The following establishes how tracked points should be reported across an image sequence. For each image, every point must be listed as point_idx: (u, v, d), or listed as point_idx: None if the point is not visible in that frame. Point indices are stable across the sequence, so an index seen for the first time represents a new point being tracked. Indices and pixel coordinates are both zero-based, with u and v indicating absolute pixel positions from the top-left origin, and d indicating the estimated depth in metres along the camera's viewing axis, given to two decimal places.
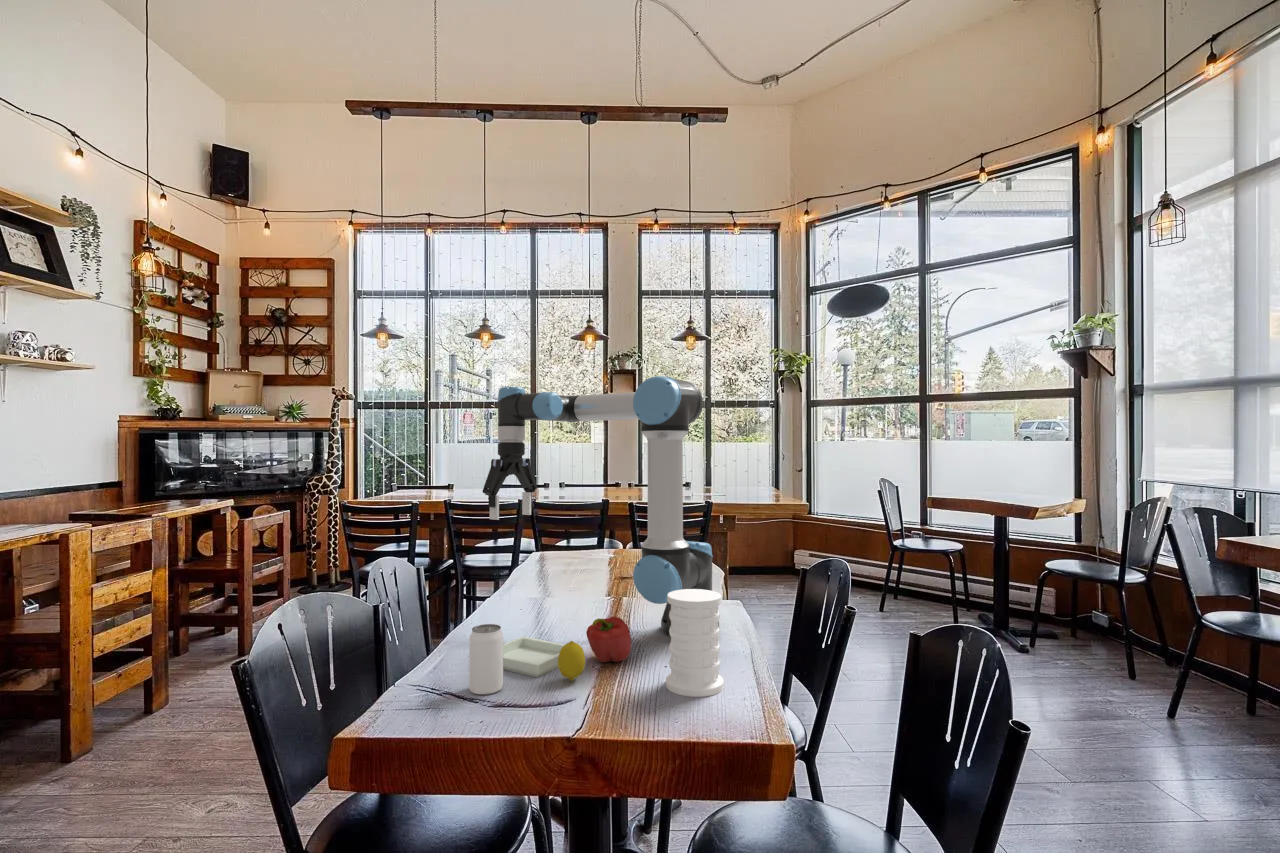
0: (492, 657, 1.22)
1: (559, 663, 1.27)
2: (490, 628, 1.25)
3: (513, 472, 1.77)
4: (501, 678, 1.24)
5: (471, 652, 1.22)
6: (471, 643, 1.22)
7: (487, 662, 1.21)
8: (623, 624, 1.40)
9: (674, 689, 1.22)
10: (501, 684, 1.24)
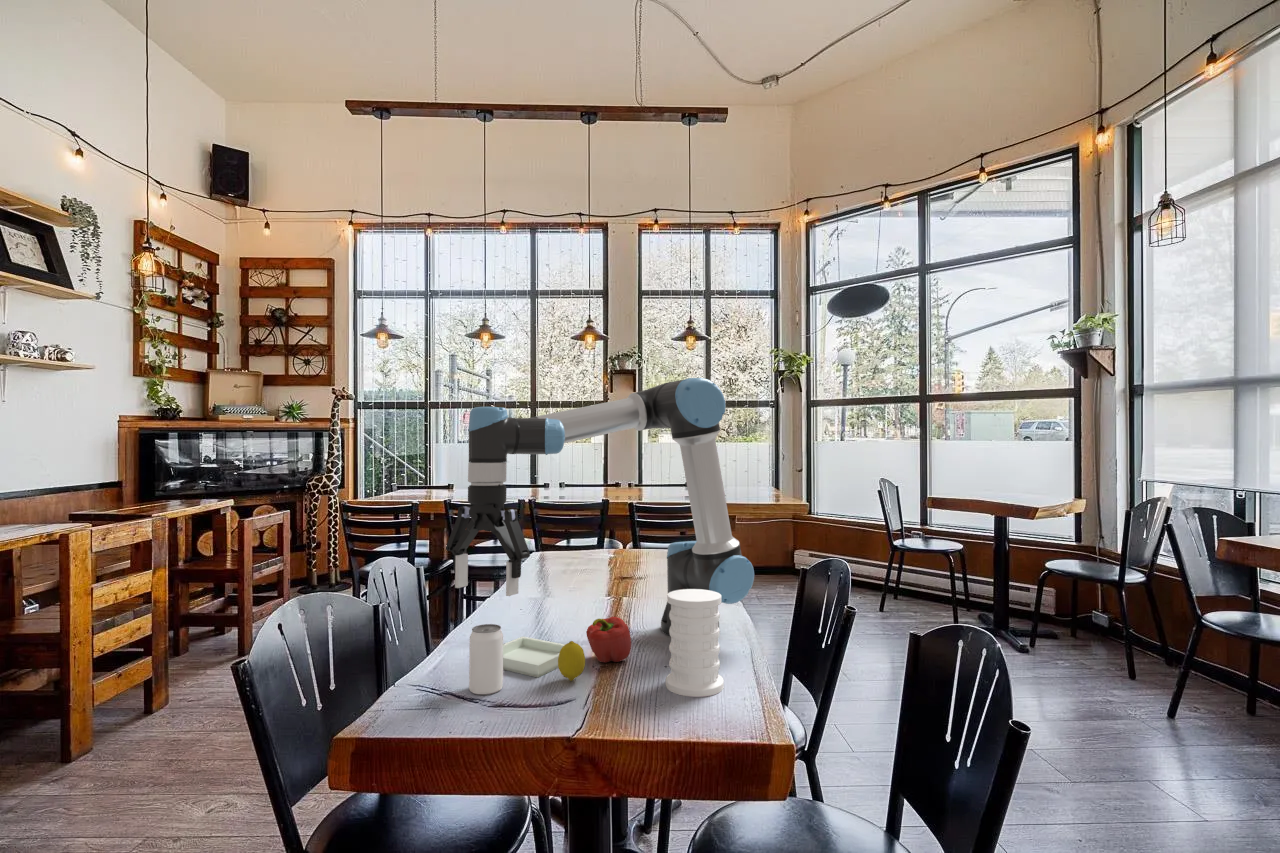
0: (492, 657, 1.22)
1: (559, 663, 1.27)
2: (490, 628, 1.25)
3: (482, 527, 1.25)
4: (501, 678, 1.24)
5: (471, 652, 1.22)
6: (471, 643, 1.22)
7: (487, 662, 1.21)
8: (623, 624, 1.40)
9: (674, 689, 1.22)
10: (501, 684, 1.24)
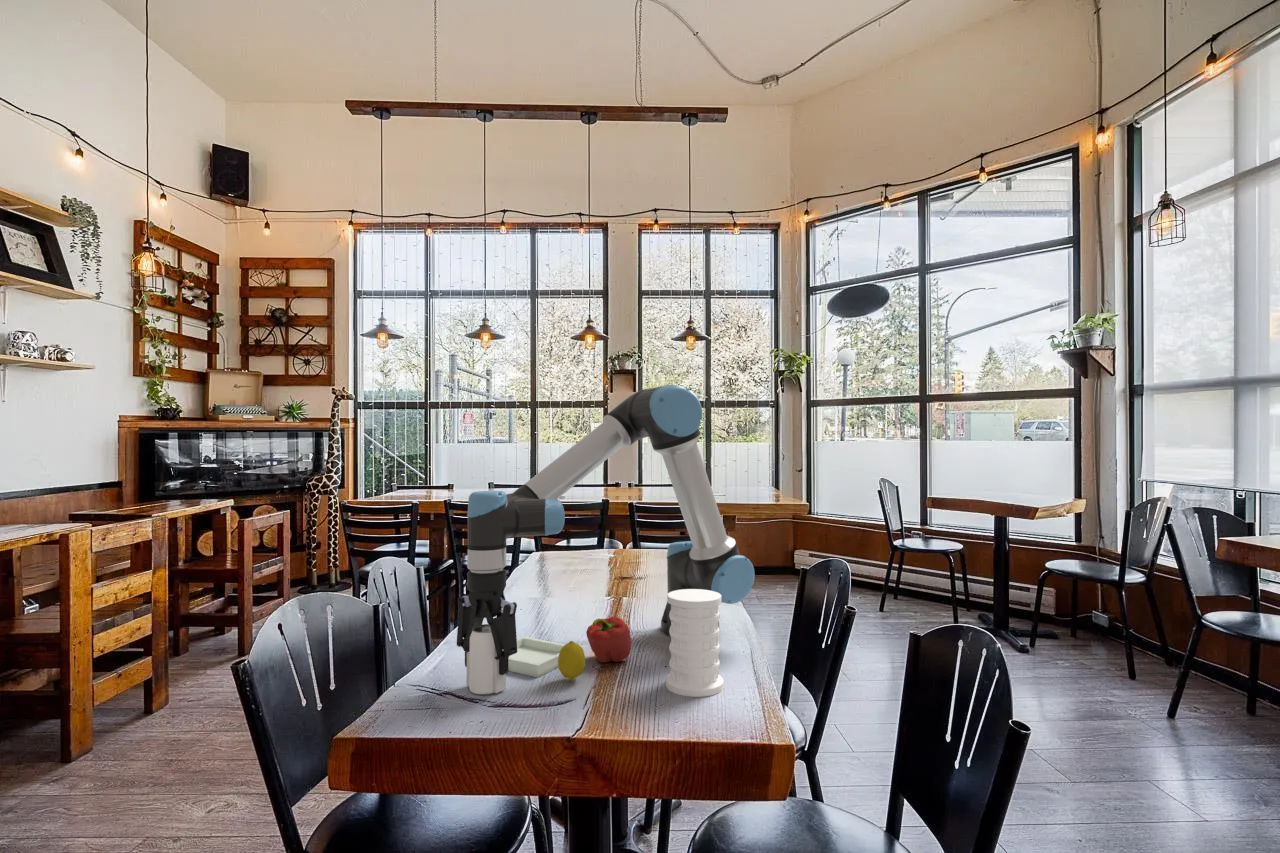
0: (492, 657, 1.22)
1: (559, 663, 1.27)
2: (490, 628, 1.25)
3: (481, 614, 1.24)
4: None
5: (471, 652, 1.22)
6: (471, 643, 1.22)
7: (487, 662, 1.21)
8: (623, 624, 1.40)
9: (674, 689, 1.22)
10: None
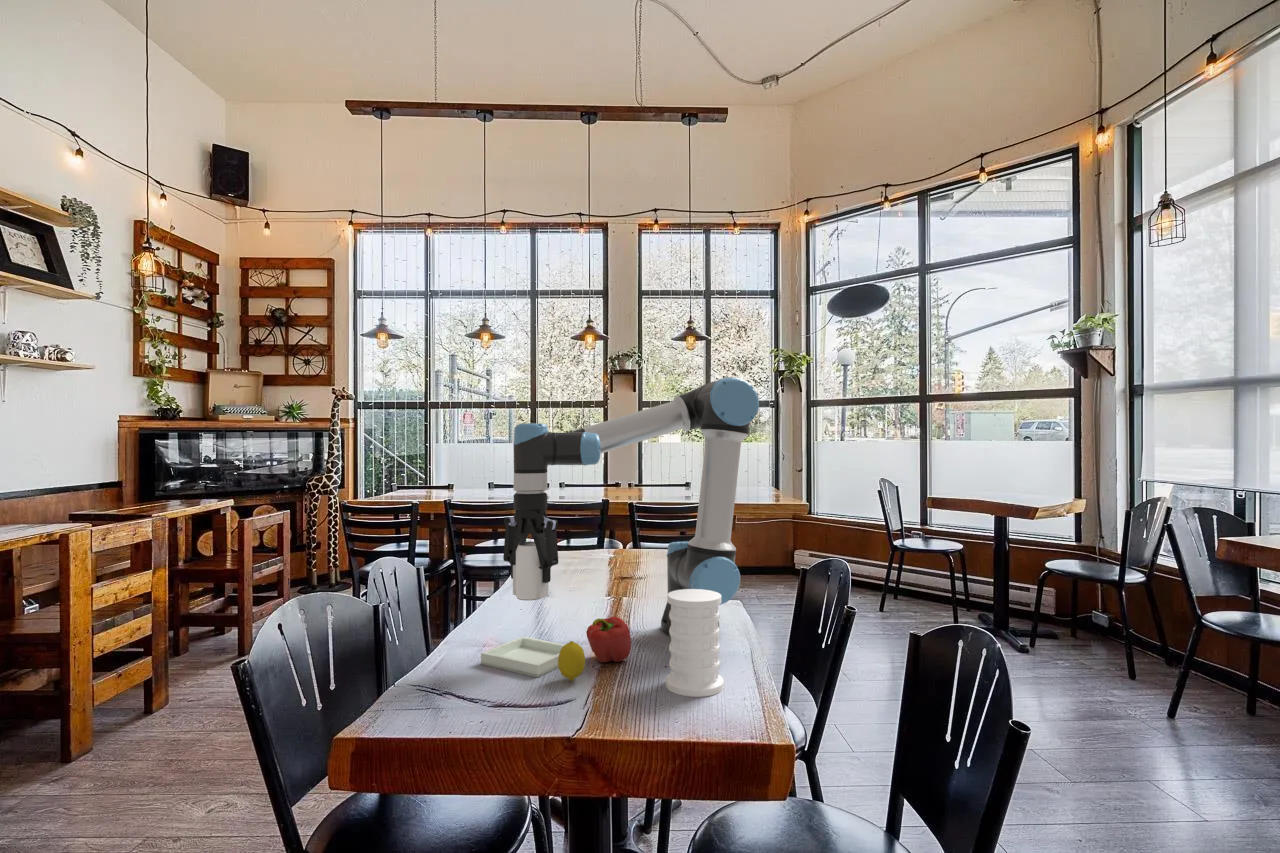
0: (536, 568, 1.39)
1: (559, 663, 1.27)
2: (533, 544, 1.42)
3: (526, 531, 1.41)
4: None
5: (517, 563, 1.39)
6: (518, 555, 1.39)
7: (532, 571, 1.38)
8: (623, 624, 1.40)
9: (674, 689, 1.22)
10: None
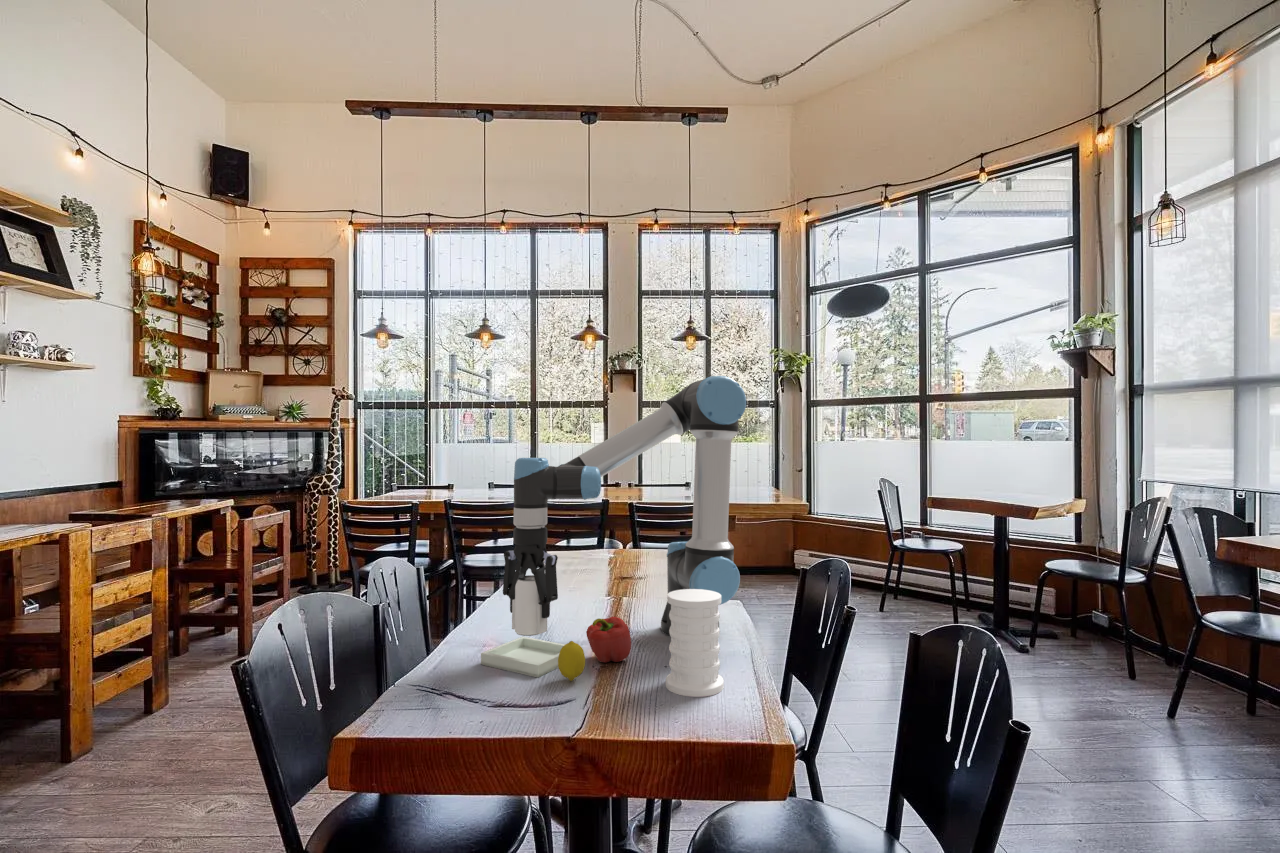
0: (536, 603, 1.38)
1: (559, 663, 1.27)
2: (533, 578, 1.42)
3: (526, 565, 1.40)
4: None
5: (517, 598, 1.39)
6: (517, 590, 1.39)
7: (531, 606, 1.38)
8: (623, 624, 1.40)
9: (674, 689, 1.22)
10: None
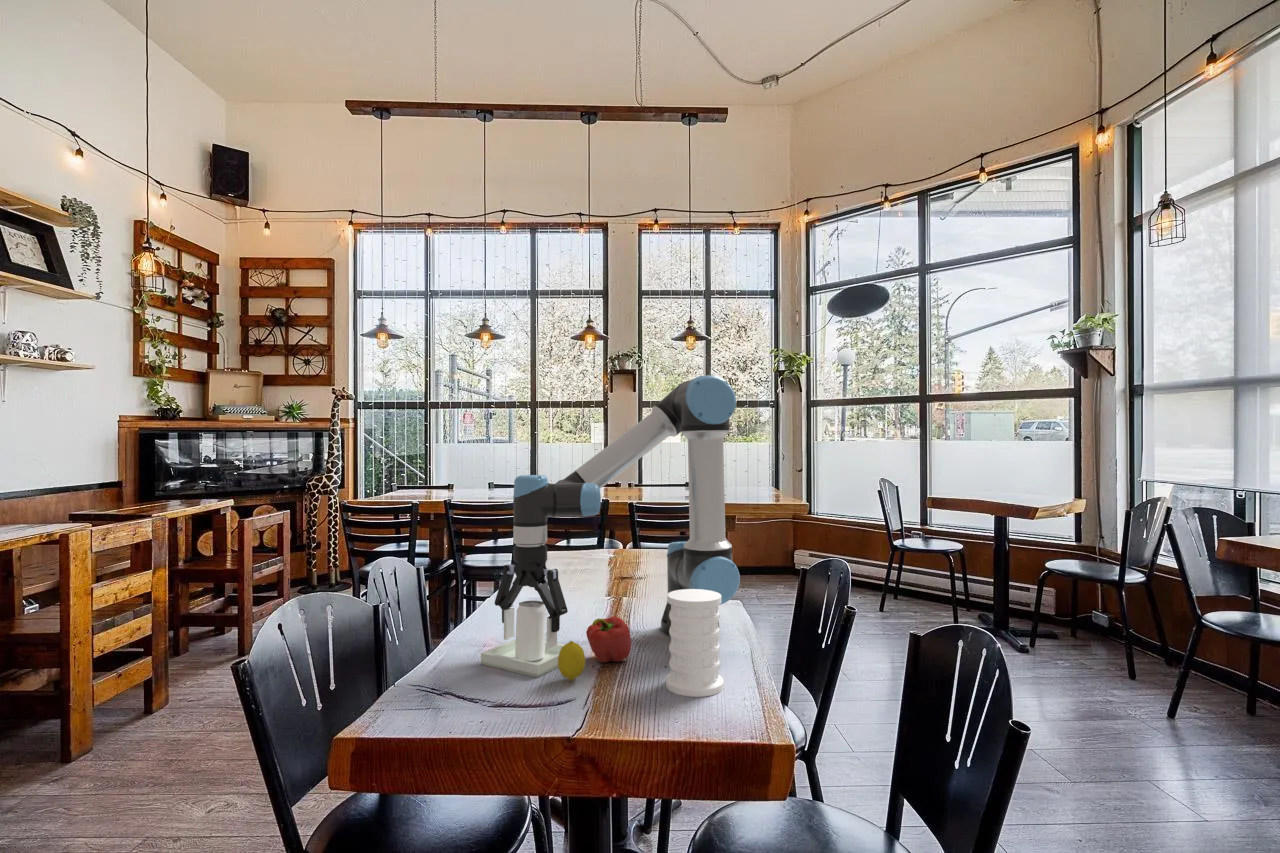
0: (537, 628, 1.39)
1: (559, 663, 1.27)
2: (534, 603, 1.42)
3: (526, 583, 1.40)
4: (544, 648, 1.40)
5: (518, 623, 1.39)
6: (518, 616, 1.39)
7: (533, 632, 1.38)
8: (623, 624, 1.40)
9: (674, 689, 1.22)
10: (543, 653, 1.40)
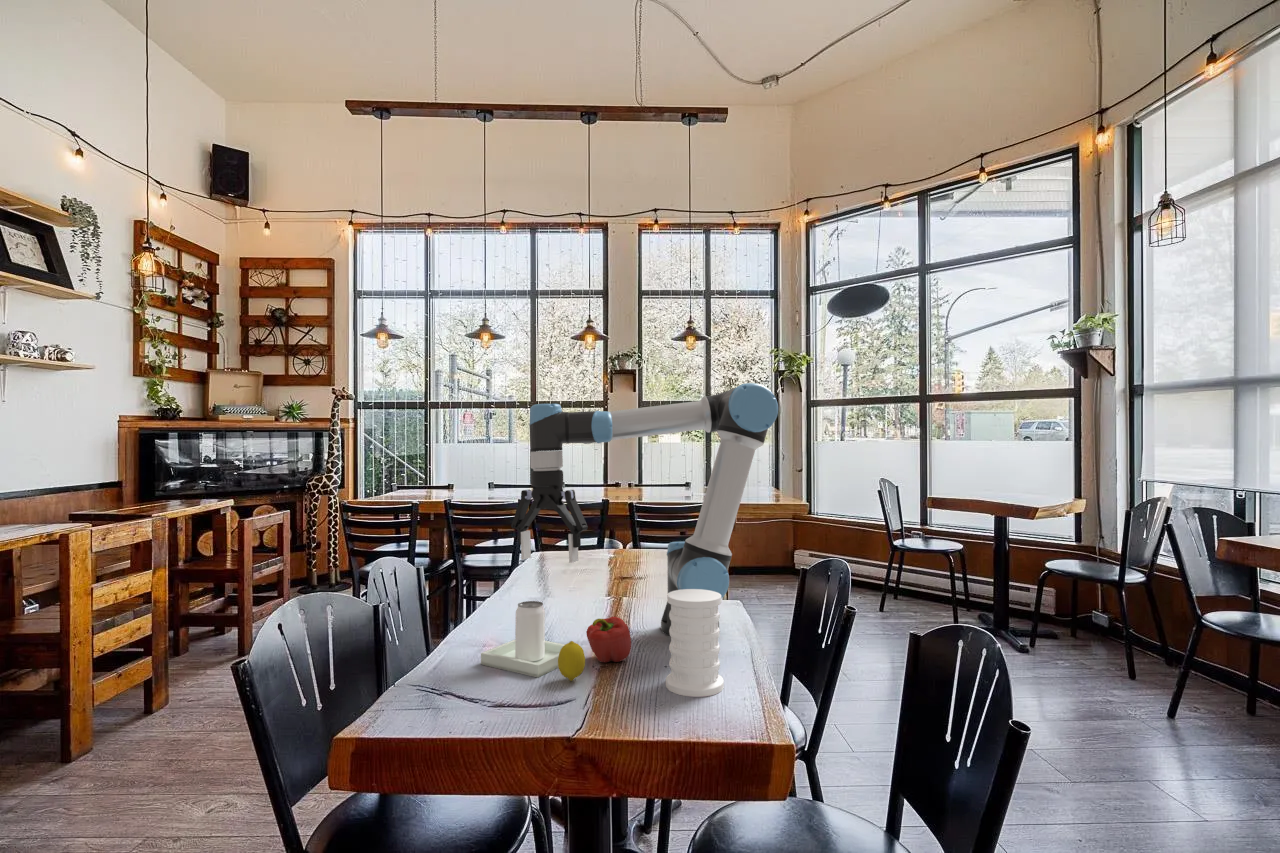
0: (537, 629, 1.38)
1: (559, 663, 1.27)
2: (533, 604, 1.42)
3: (544, 506, 1.47)
4: (543, 648, 1.40)
5: (517, 625, 1.39)
6: (518, 617, 1.39)
7: (532, 633, 1.38)
8: (623, 624, 1.40)
9: (674, 689, 1.22)
10: (543, 653, 1.40)
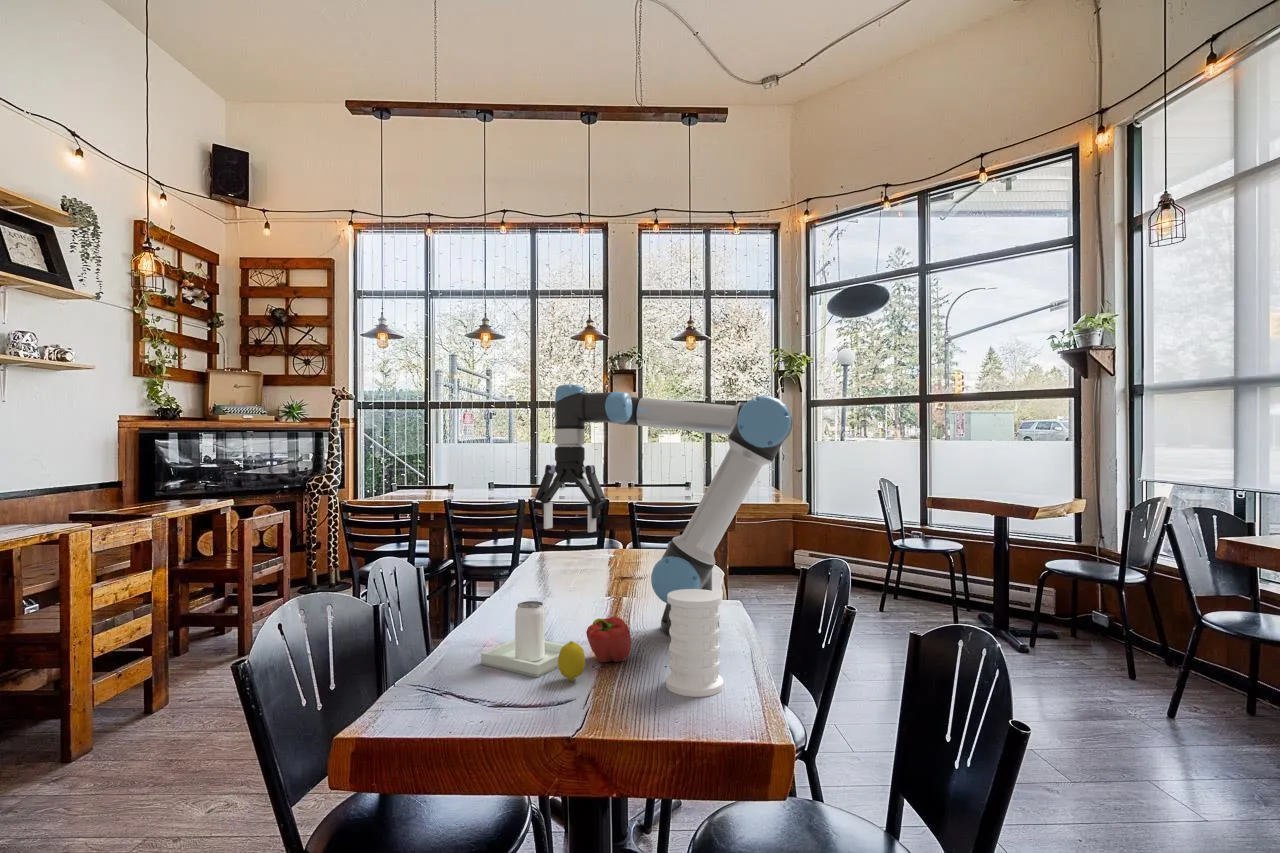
0: (537, 629, 1.38)
1: (559, 663, 1.27)
2: (533, 604, 1.42)
3: (566, 480, 1.59)
4: (543, 648, 1.40)
5: (517, 625, 1.39)
6: (517, 617, 1.39)
7: (532, 633, 1.38)
8: (623, 624, 1.40)
9: (674, 689, 1.22)
10: (543, 653, 1.40)
